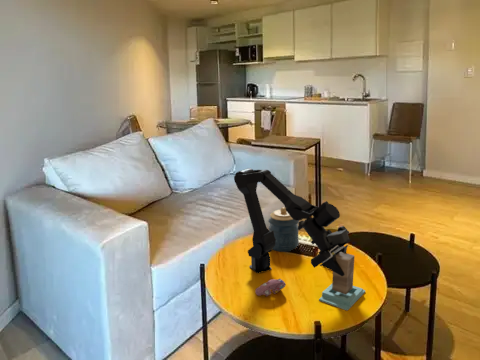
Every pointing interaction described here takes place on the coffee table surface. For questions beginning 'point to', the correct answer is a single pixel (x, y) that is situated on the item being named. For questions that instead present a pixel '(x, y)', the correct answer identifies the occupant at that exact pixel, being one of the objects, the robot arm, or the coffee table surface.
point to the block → (346, 281)
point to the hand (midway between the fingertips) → (347, 272)
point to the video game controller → (270, 287)
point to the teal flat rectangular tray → (341, 297)
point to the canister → (284, 230)
